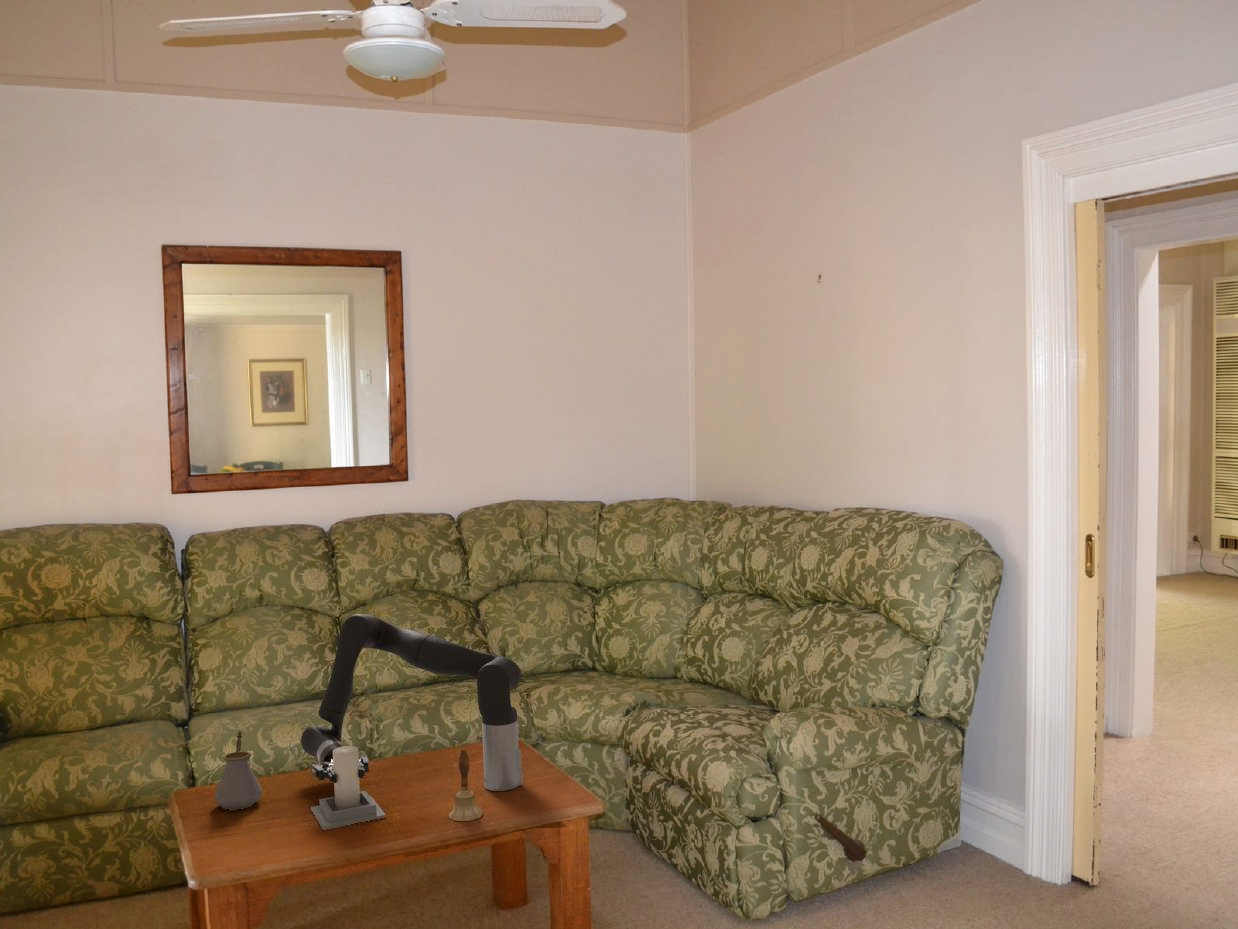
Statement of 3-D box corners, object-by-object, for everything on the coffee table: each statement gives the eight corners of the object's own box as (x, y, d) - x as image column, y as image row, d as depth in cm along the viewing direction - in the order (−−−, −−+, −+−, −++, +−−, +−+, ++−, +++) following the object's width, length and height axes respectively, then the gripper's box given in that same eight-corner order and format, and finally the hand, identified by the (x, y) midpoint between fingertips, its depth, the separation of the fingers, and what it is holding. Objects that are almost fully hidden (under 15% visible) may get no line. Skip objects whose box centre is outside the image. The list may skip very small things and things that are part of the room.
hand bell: (444, 813, 259) (442, 749, 258) (477, 806, 262) (474, 743, 262) (454, 824, 251) (451, 758, 251) (487, 818, 255) (485, 752, 254)
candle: (357, 799, 264) (354, 744, 263) (362, 807, 258) (360, 751, 258) (332, 804, 261) (330, 748, 260) (337, 812, 256) (335, 755, 255)
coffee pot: (261, 810, 264) (259, 751, 264) (212, 816, 261) (210, 756, 260) (265, 782, 285) (262, 727, 284) (219, 787, 282) (217, 732, 281)
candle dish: (370, 799, 270) (370, 787, 270) (385, 818, 256) (385, 805, 256) (311, 810, 263) (310, 798, 263) (323, 830, 250) (322, 818, 249)
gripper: (304, 748, 269) (318, 766, 254) (361, 738, 275) (377, 756, 260) (306, 776, 269) (319, 797, 254) (362, 766, 275) (378, 786, 260)
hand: (348, 776), depth 257 cm, fingers closed on candle, 6 cm apart
